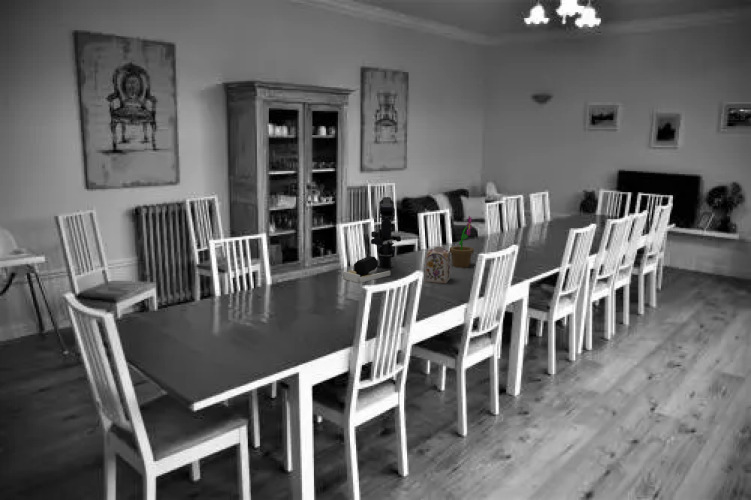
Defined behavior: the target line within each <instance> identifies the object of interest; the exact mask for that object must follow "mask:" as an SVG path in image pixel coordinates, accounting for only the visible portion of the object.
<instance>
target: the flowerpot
mask: <svg viewBox="0 0 751 500" xmlns="http://www.w3.org/2000/svg"><path fill="white" fill-rule="evenodd" d="M472 220H473V219H472V216H470V215H468V219H467V223H466V226H465V228H464V230H463V231H462V233H461V238H460V241H459V242H458V245H455V246H454V245H453V246H450V247H449V251H450V253H451V265H452V267H454V268H460V269H461V268H462V269H463V268H464V269H465V268H470V265H471V261H472V260H471V259H472V254H474V251H475V250H474V248H473V247H470V246H464V245H463V243H464V242H463V241H464V240H467V238H469V237H470V236H471V230H472V228H473V226H472ZM465 232H466V233H465Z"/></svg>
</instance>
